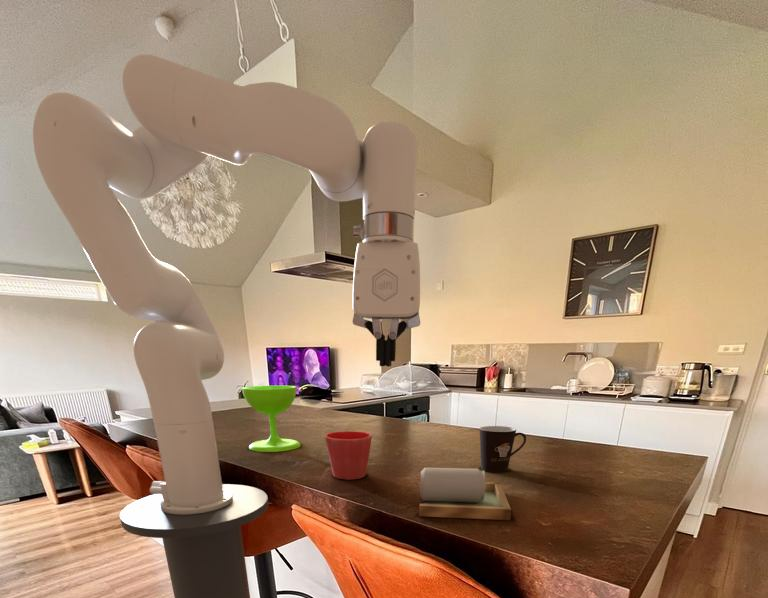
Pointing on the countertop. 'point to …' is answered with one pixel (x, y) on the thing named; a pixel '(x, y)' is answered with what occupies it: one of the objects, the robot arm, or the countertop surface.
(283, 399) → the wineglass
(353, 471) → the flower pot
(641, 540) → the countertop surface
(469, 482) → the beverage can
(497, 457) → the coffee mug
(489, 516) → the wooden tray
